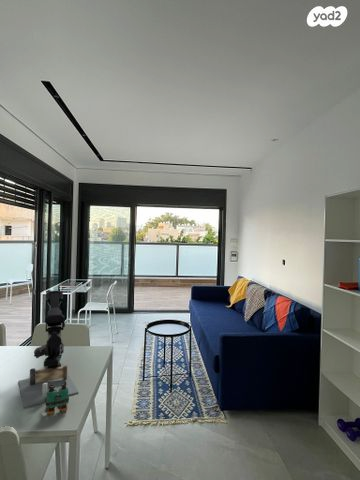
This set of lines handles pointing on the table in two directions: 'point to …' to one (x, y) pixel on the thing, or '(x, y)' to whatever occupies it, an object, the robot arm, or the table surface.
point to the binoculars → (57, 398)
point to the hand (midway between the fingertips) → (54, 372)
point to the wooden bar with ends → (48, 374)
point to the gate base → (42, 390)
